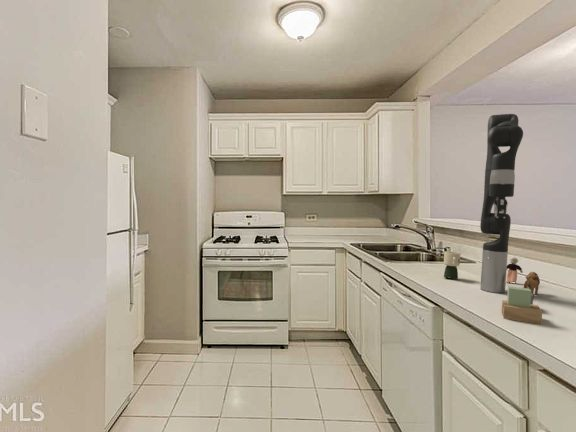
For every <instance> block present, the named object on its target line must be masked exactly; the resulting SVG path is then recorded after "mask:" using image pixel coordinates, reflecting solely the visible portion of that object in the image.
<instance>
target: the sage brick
mask: <svg viewBox="0 0 576 432" xmlns="http://www.w3.org/2000/svg"><path fill="white" fill-rule="evenodd" d="M506 296H507V298H506V299H507V300H506V301H507V303H508V305H512V306H519V307H525V308H530V305H531V290H530V289H527V288H524V287H517V286H510V285H508V286H507V295H506Z"/></svg>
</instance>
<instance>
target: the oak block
mask: <svg viewBox="0 0 576 432" xmlns="http://www.w3.org/2000/svg"><path fill="white" fill-rule="evenodd" d="M501 315H502V317H503V319H506V320H513V321H519V322H525V323H531V324H538V325H542V323H543V322H542V320H543V311H542V309H541V308H540V306H539V305H538V304H531V305H530V308H525V307H519V306H512V305H508V303H507V300H502V301H501Z"/></svg>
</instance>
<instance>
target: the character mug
mask: <svg viewBox="0 0 576 432" xmlns="http://www.w3.org/2000/svg"><path fill="white" fill-rule="evenodd" d="M443 253H444V255H443V265H445V269H444V273H443V277H444V278H447V279H450V280H453V279H455V280H458V279H459V273H458V267H460V265H461V262H460V261H461V252H458V251H457V252H456V251H448V250H447V251H446V250H445V251H444V252H443Z"/></svg>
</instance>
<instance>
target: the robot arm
mask: <svg viewBox="0 0 576 432" xmlns="http://www.w3.org/2000/svg"><path fill="white" fill-rule="evenodd" d="M486 134H487V139H486V142H487V145H486V146H487V147H486V160H485V161H486V162H485V171H484V189H483V191H484V193H483V203H482V209H481V216H480V222H479V223H480V226H479V227H480V228H479V229H480V233H482V234H485V235H494V236H499V237H498V238H497V239H495V240H492V241H487V242H484V243H483V245H482V259H481V274H480V290H482V291H485V292H491V293H496V294H497V293H498V294H499V293H500V294H501V293H502V294H504V293H505V292H506V285H507V283H506V281H507V272H508V269H507V265H508V254H509V253H508V251H509V240H510V239H509V238H510V231H511V222H512V221H511V215H510V214H508V213H507V211H508V204H509V203H508V200H507V199H506V198H512V197H514V196H515V195H514V193H515V179H516V175H515V173H516V172H515V171H516V170H515V167H516V157H517V152H518V150H519V147H520V145H521V143H522V141H523V137H524V130H523V129H522V127H521V126H519V116H518V115H517V114H515V113H505V114H503V113H502V114H500V113H499V114H492V115H490V116H489V118H488V120H487V133H486ZM502 147H503V148H504V147H508V148H509V149H508V150H506V151H504V152H502V151H501V150H500V148H502ZM492 208H493V212H492Z"/></svg>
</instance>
